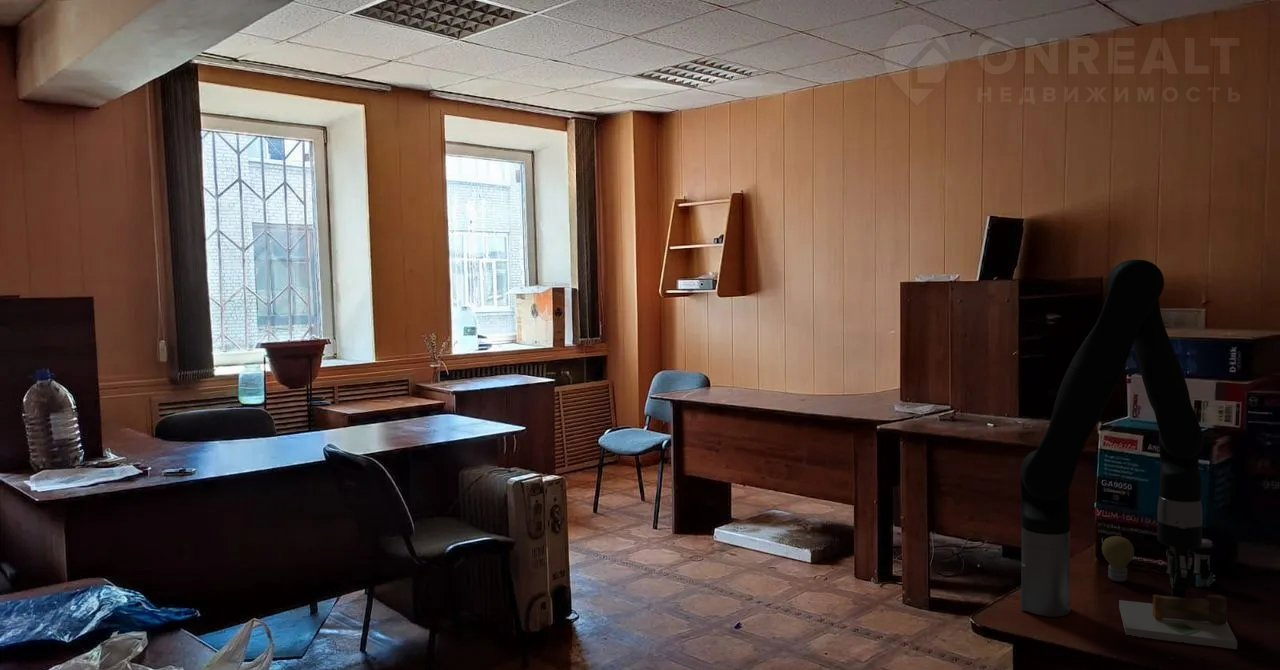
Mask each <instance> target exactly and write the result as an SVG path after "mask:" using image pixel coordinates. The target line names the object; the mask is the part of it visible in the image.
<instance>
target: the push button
mask: <svg viewBox="0 0 1280 670" xmlns="http://www.w3.org/2000/svg"><path fill="white" fill-rule="evenodd" d="M1217 548H1218V546H1217V545H1215V544H1214V543H1213V541H1212V540H1210V539H1207V538H1204V537H1202V545H1201V546H1200V547H1198V548H1191V549H1189V550H1188V551H1189V552H1190V553H1192V554H1194V555H1193V556H1194V560H1193V561H1194V567H1193V571H1192V574H1191V579H1190V584H1189V586H1190V585H1191V586H1192V585H1193V587H1195V586H1196V588H1198V586H1199V587H1200V588H1202V587H1201V586H1204V587H1207V586H1208V587H1211V585H1210V584H1212V583H1213V584H1214V582H1215V581H1216V579H1214V578H1215V577H1216V575H1215V574H1214V573H1213V572H1211V569H1210V566H1211V565H1210V564H1211V563H1210V562H1211V560H1210V559H1211V556H1213V555H1215V554H1216V551H1217ZM1213 584H1212V585H1213ZM1205 585H1206V586H1205Z"/></svg>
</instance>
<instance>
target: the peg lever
mask: <svg viewBox="0 0 1280 670" xmlns="http://www.w3.org/2000/svg"><path fill="white" fill-rule="evenodd" d="M1227 601H1228V600H1227V598H1226V597H1225V596H1223V595H1219V594H1207V595H1206V598H1200V597H1199V598H1198V597H1188V596H1187V597H1172V596H1171V595H1170V596H1167V595H1161V594H1152V604H1153V616H1154V617H1155V619H1162V618H1166V619H1179V620H1193V621H1207V622H1211V623H1215V624H1225V623H1226V621H1227V609H1228V608H1227V607H1228V604H1227V603H1228V602H1227Z"/></svg>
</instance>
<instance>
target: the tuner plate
mask: <svg viewBox="0 0 1280 670" xmlns="http://www.w3.org/2000/svg"><path fill="white" fill-rule="evenodd" d="M1118 603H1119V604H1118V608H1119V612H1120V616H1121V620H1122V621H1121V622H1122V624H1123V628H1124V629H1125V630H1124V633H1126V634H1125V636H1126V635H1132V636H1131V637H1134V636H1137V638H1142V637H1144V638H1143V639H1150V638H1151V639H1152V640H1159V641H1166V640H1167V642H1168V641H1169V642H1174V641H1175V643H1182V642H1184V644H1191V645H1198V646H1208V647H1214V646H1215V648H1224V649H1230V650H1231V649H1232V650H1237V649H1238V640H1237V638H1236V636H1235V634H1234V633H1233V630H1232V629H1231V627H1230V624H1229V623H1228V621H1227V620H1226V623H1225V624H1215V623H1211V622H1207V621H1193V620H1179V619H1166V618H1162V619H1155V617H1154V616H1153V603H1149V602H1142V601H1131V600H1123V599H1119V600H1118Z"/></svg>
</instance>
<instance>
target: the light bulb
mask: <svg viewBox="0 0 1280 670" xmlns="http://www.w3.org/2000/svg"><path fill="white" fill-rule="evenodd" d="M1101 551H1102V552H1101V553H1102V555H1103V557H1104V559H1105V560H1106V561H1107V562H1108V563H1109V565H1108V571H1107V572H1108V574H1107V575H1108V576H1107V577H1108V578H1109V579H1110V580H1111V581H1113V582H1118V583H1122V582H1126V581H1127V579H1128V576H1127V575H1128V567H1127V566H1128V564H1130V562H1132V560H1133V558H1134V557H1135V556H1134V555H1135V548H1134V545H1133V543H1132V542H1131V541H1130V540H1129V539H1128V538H1125V537H1123V536H1119V535H1111V536H1109V537H1107V538H1105V539H1104V540H1103V542H1102V544H1101Z"/></svg>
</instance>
